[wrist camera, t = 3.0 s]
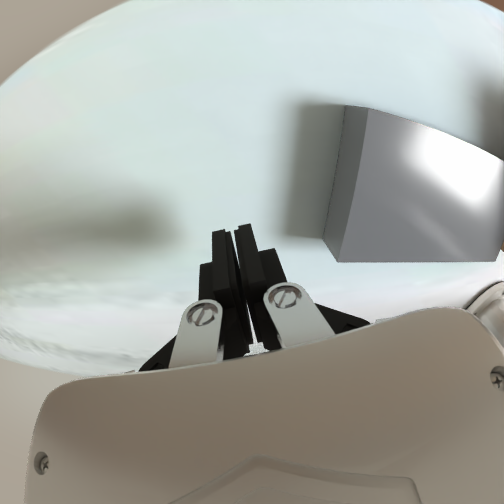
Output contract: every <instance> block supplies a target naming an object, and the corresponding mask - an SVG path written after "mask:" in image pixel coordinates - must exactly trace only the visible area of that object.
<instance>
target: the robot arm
mask: <svg viewBox="0 0 504 504" xmlns="http://www.w3.org/2000/svg"><path fill="white" fill-rule="evenodd" d="M238 228H239V229H238V230H234V234H235V241H236V247H237V254H238V260H239V264H238V260H237V256H236V252H235V248H234V244H233V240H232V236H231V232H230V231H229V232H225V229H223V230H218V231H214V232H212V262H209V263H205V264H201V265H200V275H199V299H198V301H197V302H195V303H193V304H191V305H190V306H188V307H187V309H186V310H185V311H184V313H183V315H182V318H181V322H180V326H179V329H178V333H177V335H176V336H175V337H174V338H173V339H171V340H170V341H169V342H168V343H167V344H166V345H165V346H164V347H163V348H161V349H160V350H159V351H158V352H157V353H156V354H155V355H154V356H152V357H151V358H150V359H149V360H148V361H147V362H146V363H145V364H144V365H143V366H142V367H141V368H140V370H139V372H135V371H134V370H132V371H129V372H126V373H121V374H110V375H100V376H91V377H85V378H80V379H77V380H73V381H70V382H68V383H65V384H63V385H60V386H59V387H57V388H55V389H54V390H53V391H51V392H50V393H49V394H48V395H47V397H46V399H45V400H44V402H43V404H42V407H41V409H40V412H39V415H38V418H37V421H36V424H35V428H34V432H33V436H32V441H31V445H30V451H29V457H28V464H27V472H26V482H25V498H24V504H504V282H501V283H498V284H496V285H494V286H492V287H491V288H489V289H488V290H486V291H485V292H484V293H483V294H482V295H480V296H479V297H478V298H477V299H476V300H475V301H474V302H473V303H472V304H471V305H470V306H469V308H468V309H467V310H464V309H462V308H456V307H433V308H426V309H421V310H417V311H412V312H408V313H405V314H402V315H399V316H396V317H392V318H387V319H379V320H376V322H375V323H372V324H370V323H369V322H368V321H366V320H364V319H361V318H358V317H355V316H352V315H349V314H346V313H343V312H340V311H337V310H334V309H331V308H328V307H325V306H322V305H319V304H316V303H314V302H313V301H312V299H311V298H310V296H309V295H308V294H307V292H306V291H305V289H304V288H303V287H302V286H300V285H298V284H296V283H291V282H287V280H286V277H285V274H284V271H283V269H282V266H281V263H280V261H279V258H278V255H277V253H276V250H275V248H273V249H268V250H263V251H259V252H258V249H257V245H256V242H255V238H254V234H253V231H252V227H251V224H245V225H241V226H238ZM239 267H240V268H239ZM246 301H247V302H246ZM247 305H248V307H247ZM248 308H249V312H250V316H251V320H252V323H253V327H254V331H255V335H256V338H257V342H258V343H259V342H263V345H264V348H265V349H267V350H269V351H268V352H264V353H259V354H254V355H249V356H244V355H245V354H246V353H250V350H249V344H253V337H252V331H251V325H250V319H249V313H248ZM243 356H244V357H243Z"/></svg>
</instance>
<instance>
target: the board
mask: <svg viewBox="0 0 504 504" xmlns="http://www.w3.org/2000/svg"><path fill="white" fill-rule="evenodd" d="M323 241H324V242H325V244H326V245H327V247H328V248H329V250H330V251H331V253H332V255H333V256H334V258H335V259H336V261H337V262H495V261H496V258H497V256H498V254H499V251H500V249H501V246H502V244H503V241H504V161H503V160H501V159H499V158H497V157H496V156H494V155H492V154H490V153H488V152H486V151H484V150H482V149H480V148H478V147H476V146H473V145H471V144H469V143H467V142H465V141H463V140H460V139H458V138H456V137H453V136H451V135H449V134H446V133H444V132H441V131H439V130H436V129H433V128H431V127H428V126H425V125H422V124H420V123H417V122H414V121H411V120H408V119H405V118H402V117H399V116H395V115H392V114H389V113H385V112H382V111H378V110H374V109H371V108H365V107H357V106H349V105H346V106H345V114H344V122H343V129H342V136H341V143H340V149H339V155H338V161H337V167H336V173H335V179H334V184H333V190H332V195H331V200H330V206H329V211H328V216H327V221H326V225H325V230H324V235H323Z"/></svg>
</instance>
